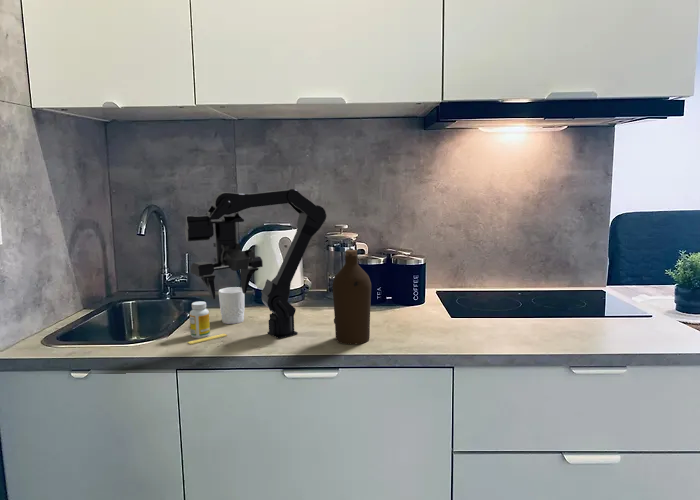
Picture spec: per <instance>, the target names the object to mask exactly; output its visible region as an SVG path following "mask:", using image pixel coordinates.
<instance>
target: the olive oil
mask: <svg viewBox="0 0 700 500" xmlns="http://www.w3.org/2000/svg"><path fill="white" fill-rule="evenodd" d="M344 258H345V259H344V260H345V261H344V262H345V264H344V265H343V266H342V268H341V269H340V270H338V271H337V273H336V274H335V275H334V277H333V280H332V281H333V282H332V298H333V299H332V300H333V312H334V313H333V315H334V319H333V324H334V328H335V341H336V342H338V343H340V344H344V345H353V346H354V345H361V344H365V343H367V342H369V340H370V337H371V336H370V335H371V334H370V333H371V332H370V331H371V330H370V328H371V326H370V325H371V306H372V305H371V303H372V302H371V300H372V282H371V279H370V276H369V274H368V273H367V272H366V271H365V270H364V269H363V268H362V267H361V266H360V265H359V263H358V262H359V261H358V260H359V257H358V250H357V249H345V255H344Z"/></svg>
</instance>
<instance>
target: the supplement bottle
mask: <svg viewBox="0 0 700 500" xmlns="http://www.w3.org/2000/svg"><path fill="white" fill-rule="evenodd" d="M210 325H211V324H210V311H209V309H208V308H207V302H206V301H193V302H192V303H191V310H190V311H189V327H190V329H189V330H190V336H191V338H194V339H203V338H207V337H210V334H211V326H210Z"/></svg>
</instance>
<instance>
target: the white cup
mask: <svg viewBox="0 0 700 500" xmlns="http://www.w3.org/2000/svg"><path fill="white" fill-rule="evenodd" d="M218 299H219V300H218V301H219V308H220V314H221V322H222V323H223V324H227V325H229V324H230V325H233V324H240V323H243V322H244V321H245V294H244V293H243V291H242V286H240V287H239V286H238V287H237V286H232V287H231V286H230V287H224V288H220V289H219V290H218Z"/></svg>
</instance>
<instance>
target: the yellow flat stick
mask: <svg viewBox="0 0 700 500" xmlns="http://www.w3.org/2000/svg"><path fill="white" fill-rule="evenodd" d="M227 336H228V335H227V334H226V333H221V334H217V335H212V336H207V337H203V338H198V339H195V340H191V341H188V342H187V344H189V345H190V346H191V345H196V344H199V343H203V342H207V341H211V340H212V341H213V340H216V339H219V338H225V337H227Z"/></svg>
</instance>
